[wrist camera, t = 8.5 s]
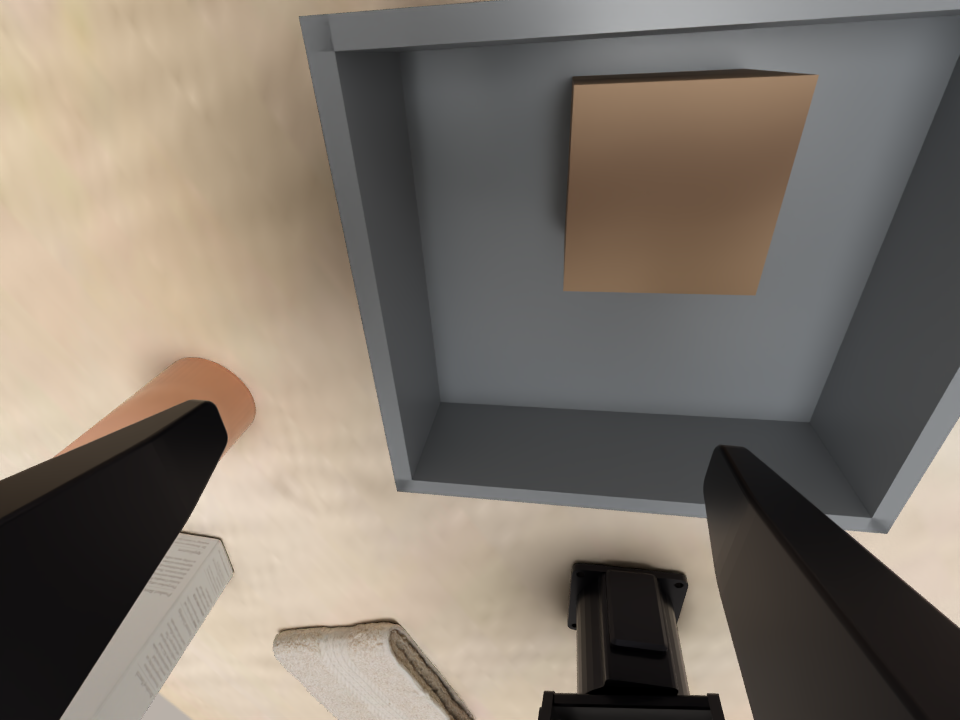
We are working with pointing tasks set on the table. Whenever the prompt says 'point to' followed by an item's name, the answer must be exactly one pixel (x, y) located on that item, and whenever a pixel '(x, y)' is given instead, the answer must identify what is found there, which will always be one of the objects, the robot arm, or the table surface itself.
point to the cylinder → (182, 400)
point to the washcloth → (368, 673)
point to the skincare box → (154, 632)
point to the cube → (679, 178)
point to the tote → (648, 316)
